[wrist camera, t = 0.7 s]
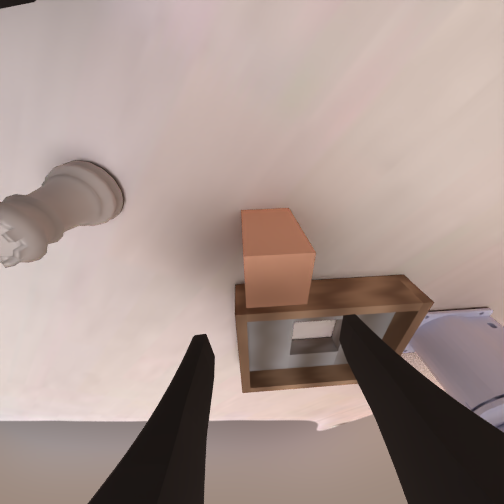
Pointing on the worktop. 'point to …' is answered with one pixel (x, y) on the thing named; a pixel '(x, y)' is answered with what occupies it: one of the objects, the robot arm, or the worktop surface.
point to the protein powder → (13, 2)
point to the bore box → (323, 349)
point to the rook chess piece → (56, 210)
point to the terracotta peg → (275, 258)
